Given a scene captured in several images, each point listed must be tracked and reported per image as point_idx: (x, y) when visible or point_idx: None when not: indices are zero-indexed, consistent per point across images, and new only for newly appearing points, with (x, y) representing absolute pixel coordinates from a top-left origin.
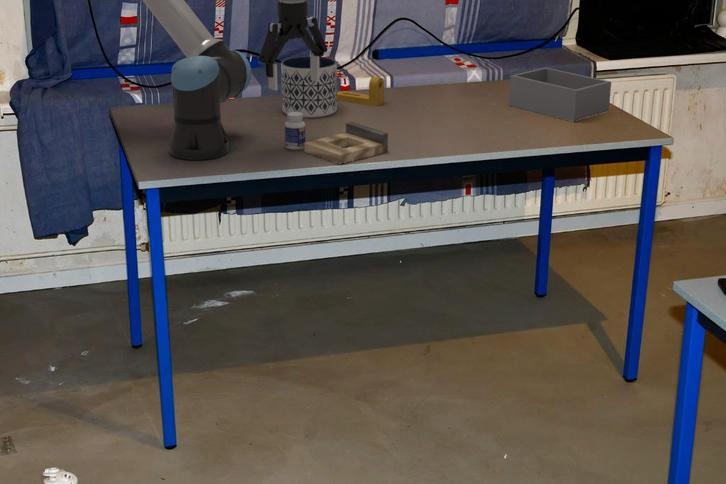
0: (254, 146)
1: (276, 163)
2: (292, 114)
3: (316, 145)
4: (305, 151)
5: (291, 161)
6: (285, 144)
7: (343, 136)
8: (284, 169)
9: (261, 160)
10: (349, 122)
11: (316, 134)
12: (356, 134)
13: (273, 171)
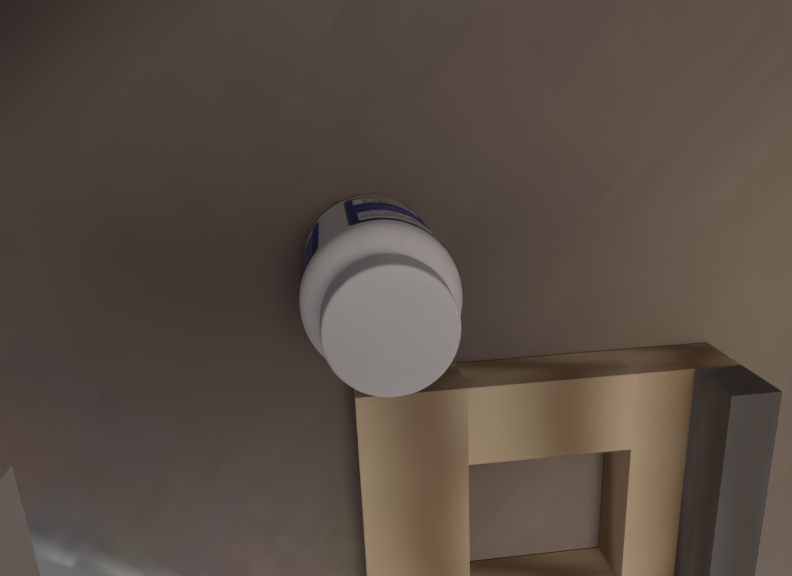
0: (148, 72)
1: (96, 450)
2: (362, 338)
3: (378, 483)
4: None
5: (191, 466)
6: (306, 240)
7: (621, 428)
8: (83, 552)
9: (43, 358)
10: (759, 396)
11: (647, 108)
12: (690, 462)
13: None
